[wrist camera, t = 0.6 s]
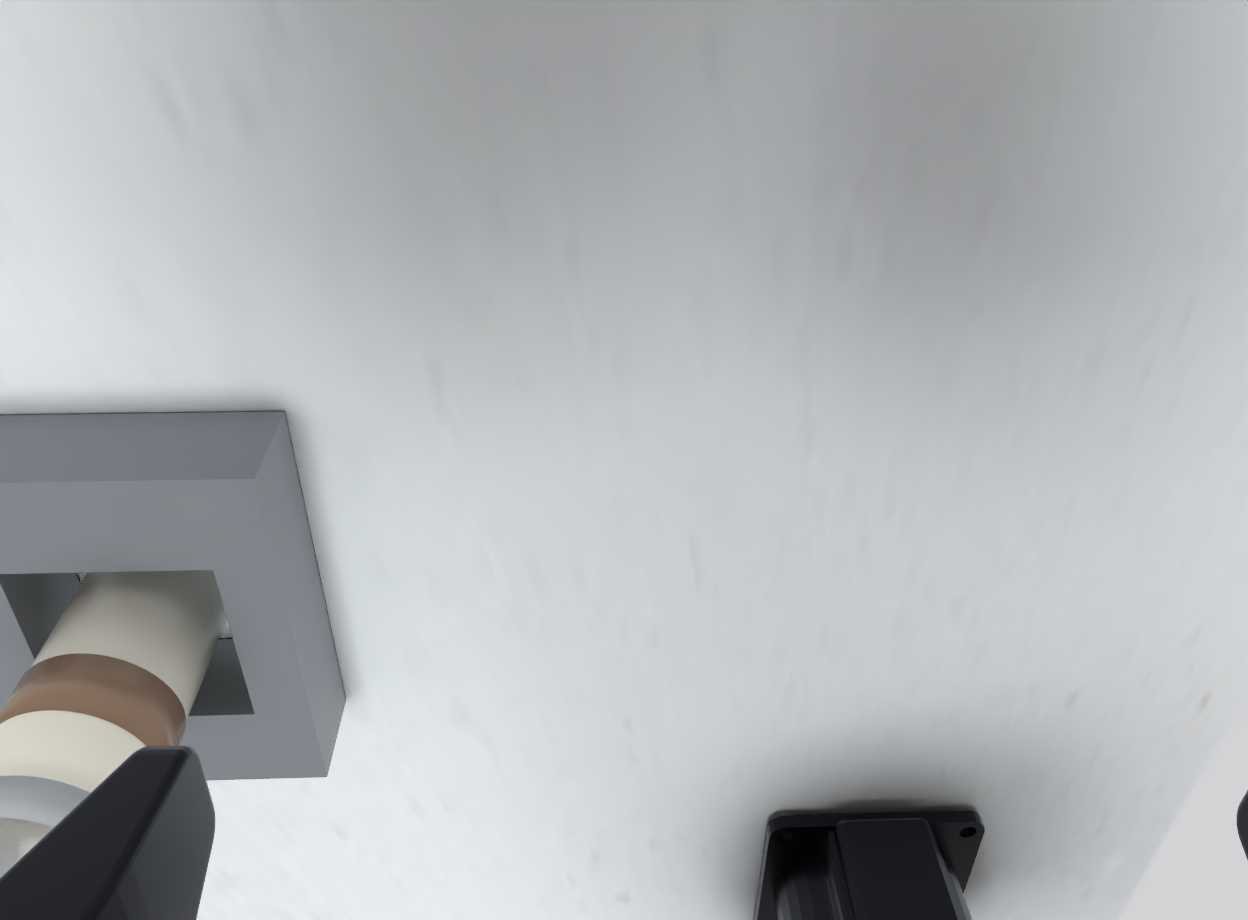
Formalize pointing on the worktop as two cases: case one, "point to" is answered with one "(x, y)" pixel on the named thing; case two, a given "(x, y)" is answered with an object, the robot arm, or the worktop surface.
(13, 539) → the fuse holder
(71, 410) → the worktop surface
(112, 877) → the robot arm
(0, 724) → the fuse
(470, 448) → the worktop surface
